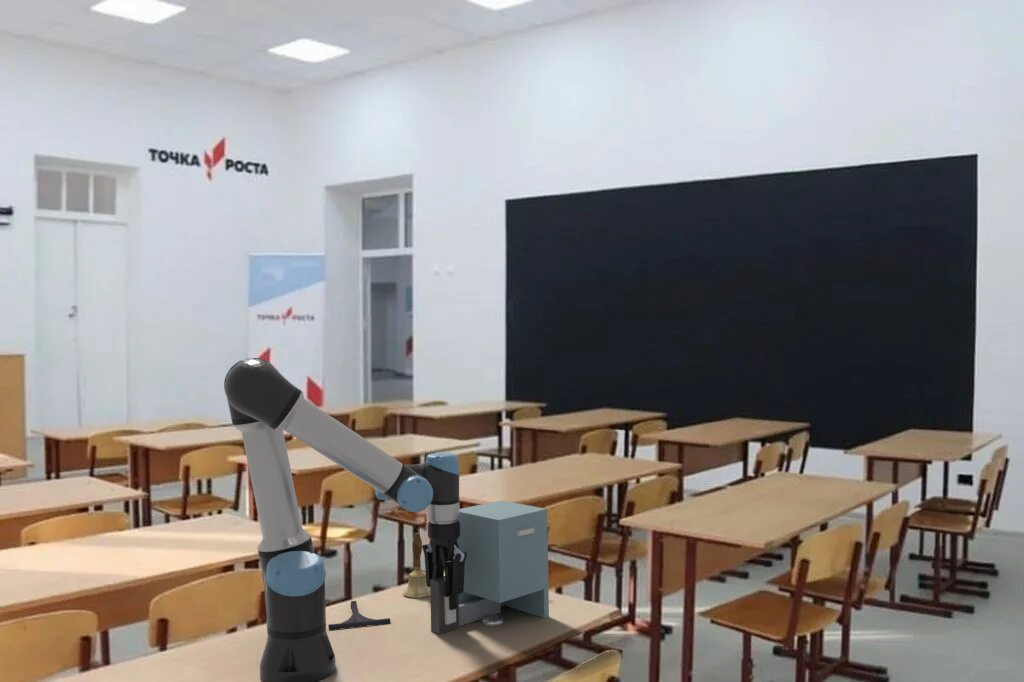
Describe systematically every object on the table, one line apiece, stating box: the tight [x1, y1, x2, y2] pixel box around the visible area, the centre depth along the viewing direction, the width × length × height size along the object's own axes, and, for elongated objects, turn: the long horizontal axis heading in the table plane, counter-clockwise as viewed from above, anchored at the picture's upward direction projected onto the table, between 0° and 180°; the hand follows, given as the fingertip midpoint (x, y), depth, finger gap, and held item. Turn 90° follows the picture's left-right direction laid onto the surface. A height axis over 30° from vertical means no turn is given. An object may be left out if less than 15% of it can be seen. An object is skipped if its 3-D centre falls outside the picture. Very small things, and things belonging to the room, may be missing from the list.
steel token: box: [481, 614, 504, 627], centre depth 214 cm, size 5×5×1 cm
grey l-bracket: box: [430, 575, 502, 635], centre depth 214 cm, size 20×3×12 cm, turn 134°
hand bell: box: [402, 532, 431, 599], centre depth 237 cm, size 8×8×16 cm
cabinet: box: [457, 500, 550, 619], centre depth 217 cm, size 16×17×26 cm
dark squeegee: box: [327, 600, 392, 631], centre depth 219 cm, size 14×15×3 cm
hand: (445, 620), depth 209 cm, fingers closed on grey l-bracket, 3 cm apart
